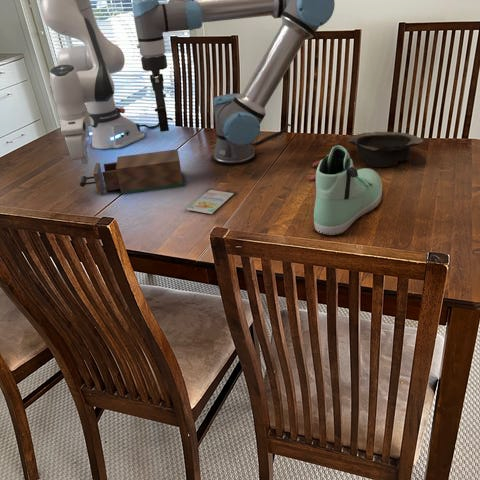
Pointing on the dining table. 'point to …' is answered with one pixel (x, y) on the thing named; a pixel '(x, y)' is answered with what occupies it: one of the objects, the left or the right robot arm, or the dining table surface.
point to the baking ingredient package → (210, 201)
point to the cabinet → (149, 171)
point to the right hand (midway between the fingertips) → (163, 124)
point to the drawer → (103, 177)
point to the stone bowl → (384, 147)
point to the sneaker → (343, 192)
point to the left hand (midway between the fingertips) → (85, 162)
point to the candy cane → (315, 173)
